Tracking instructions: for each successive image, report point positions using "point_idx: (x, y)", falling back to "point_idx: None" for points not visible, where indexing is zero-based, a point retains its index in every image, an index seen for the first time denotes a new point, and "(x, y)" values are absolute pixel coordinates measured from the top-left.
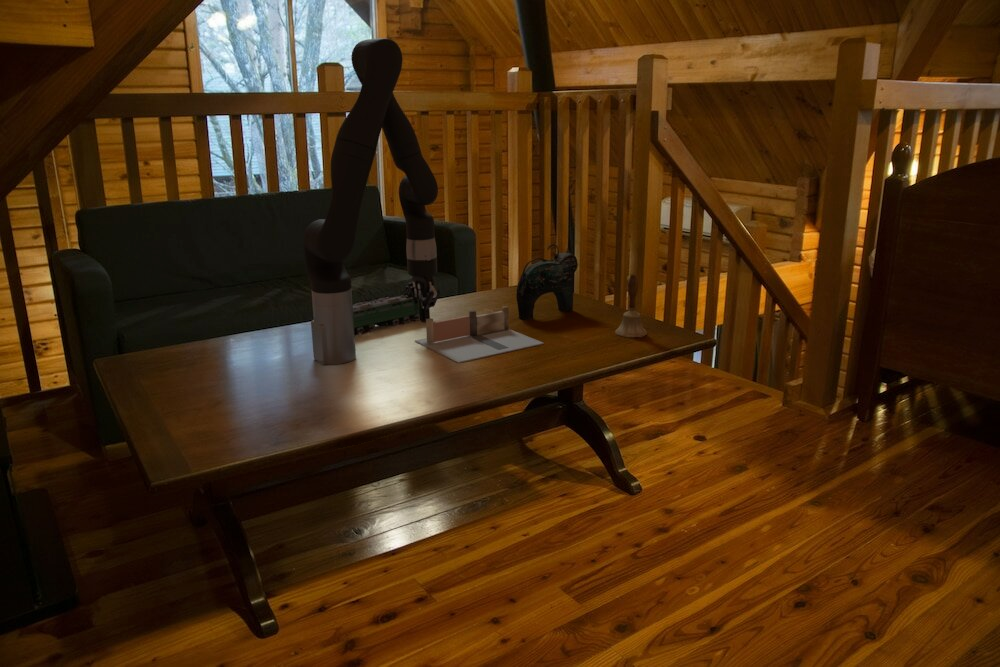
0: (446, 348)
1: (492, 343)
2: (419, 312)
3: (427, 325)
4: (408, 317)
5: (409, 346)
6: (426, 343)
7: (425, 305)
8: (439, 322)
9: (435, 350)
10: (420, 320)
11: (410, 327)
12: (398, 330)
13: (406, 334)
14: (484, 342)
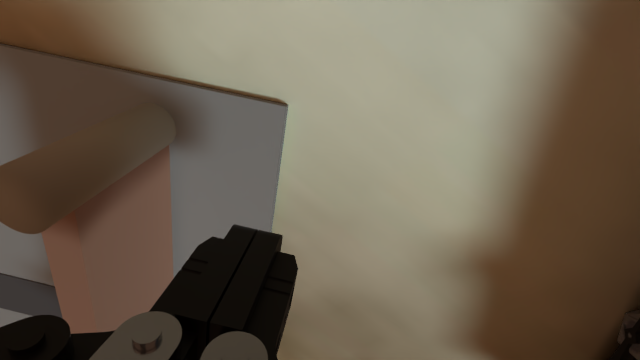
0: (41, 126)
1: (22, 297)
2: (258, 288)
3: (43, 147)
4: (638, 356)
5: (224, 2)
6: (185, 113)
7: (3, 346)
8: (48, 248)
9: (30, 54)
10: (269, 234)
11: (541, 277)
12: (573, 197)
13: (456, 171)
14: (48, 290)
